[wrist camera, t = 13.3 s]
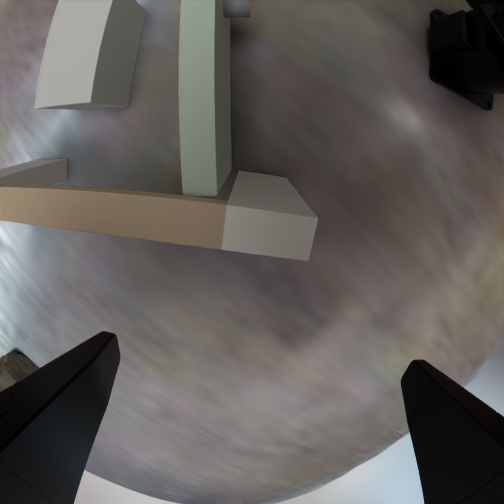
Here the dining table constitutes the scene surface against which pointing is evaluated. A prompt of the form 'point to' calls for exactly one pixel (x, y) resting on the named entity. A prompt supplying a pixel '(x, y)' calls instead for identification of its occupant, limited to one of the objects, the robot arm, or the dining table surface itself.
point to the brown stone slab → (14, 368)
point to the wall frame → (165, 211)
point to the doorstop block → (90, 55)
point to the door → (206, 93)
